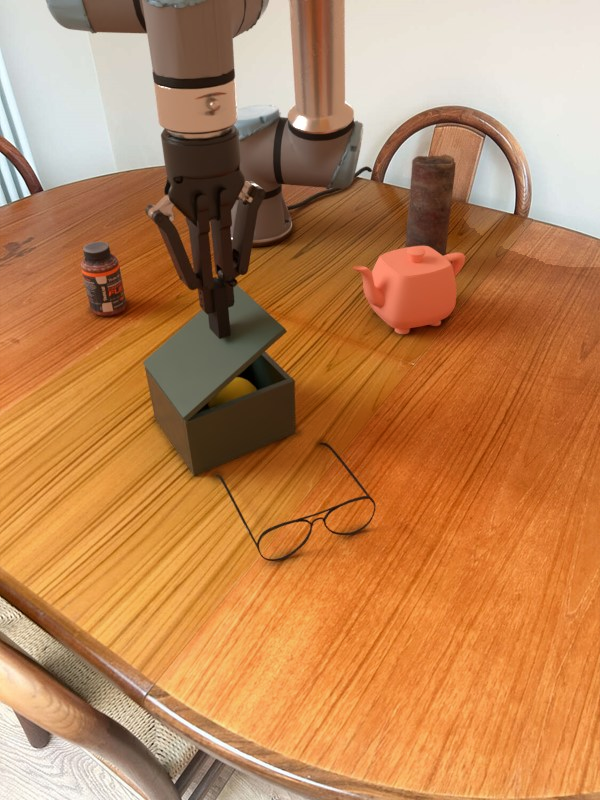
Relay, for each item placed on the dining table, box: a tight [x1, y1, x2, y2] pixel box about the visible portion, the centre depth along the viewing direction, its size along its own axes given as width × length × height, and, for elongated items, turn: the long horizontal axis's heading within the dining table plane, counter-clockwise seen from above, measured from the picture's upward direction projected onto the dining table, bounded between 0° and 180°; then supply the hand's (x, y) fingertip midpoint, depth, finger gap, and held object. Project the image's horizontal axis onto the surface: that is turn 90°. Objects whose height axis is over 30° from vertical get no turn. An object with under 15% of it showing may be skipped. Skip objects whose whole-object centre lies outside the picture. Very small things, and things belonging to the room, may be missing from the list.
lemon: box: [208, 377, 257, 408], centre depth 86 cm, size 7×5×5 cm
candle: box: [404, 153, 457, 256], centre depth 114 cm, size 8×7×20 cm
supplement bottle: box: [80, 241, 127, 317], centre depth 107 cm, size 6×6×11 cm
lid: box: [142, 284, 288, 421], centre depth 79 cm, size 15×13×1 cm
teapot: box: [352, 246, 466, 335], centre depth 104 cm, size 20×12×12 cm, turn 114°
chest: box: [144, 351, 296, 477], centre depth 84 cm, size 15×13×9 cm
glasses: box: [215, 442, 376, 562], centre depth 76 cm, size 14×15×5 cm
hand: (220, 331), depth 78 cm, fingers closed
